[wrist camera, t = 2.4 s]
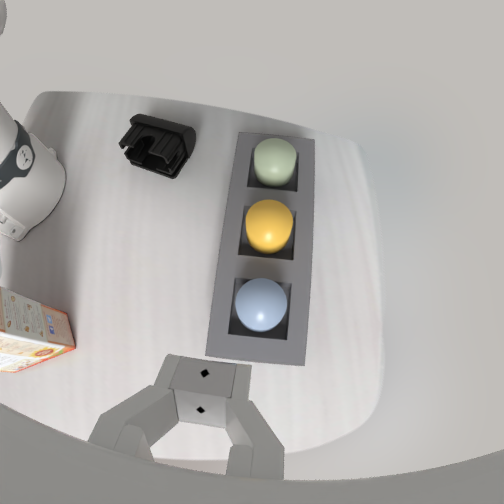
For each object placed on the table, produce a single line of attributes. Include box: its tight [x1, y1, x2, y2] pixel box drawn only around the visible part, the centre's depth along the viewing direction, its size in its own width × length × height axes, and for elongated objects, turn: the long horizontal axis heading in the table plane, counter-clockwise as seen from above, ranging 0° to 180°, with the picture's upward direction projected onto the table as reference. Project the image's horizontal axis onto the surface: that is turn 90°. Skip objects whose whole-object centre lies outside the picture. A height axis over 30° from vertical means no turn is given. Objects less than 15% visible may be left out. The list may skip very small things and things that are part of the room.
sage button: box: [254, 138, 296, 187], centre depth 37 cm, size 5×5×4 cm
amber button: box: [246, 200, 293, 254], centre depth 34 cm, size 5×5×4 cm
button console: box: [205, 132, 315, 366], centre depth 39 cm, size 10×28×8 cm, turn 174°
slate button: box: [235, 278, 287, 332], centre depth 31 cm, size 5×5×4 cm
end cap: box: [119, 114, 196, 179], centre depth 46 cm, size 10×7×7 cm
